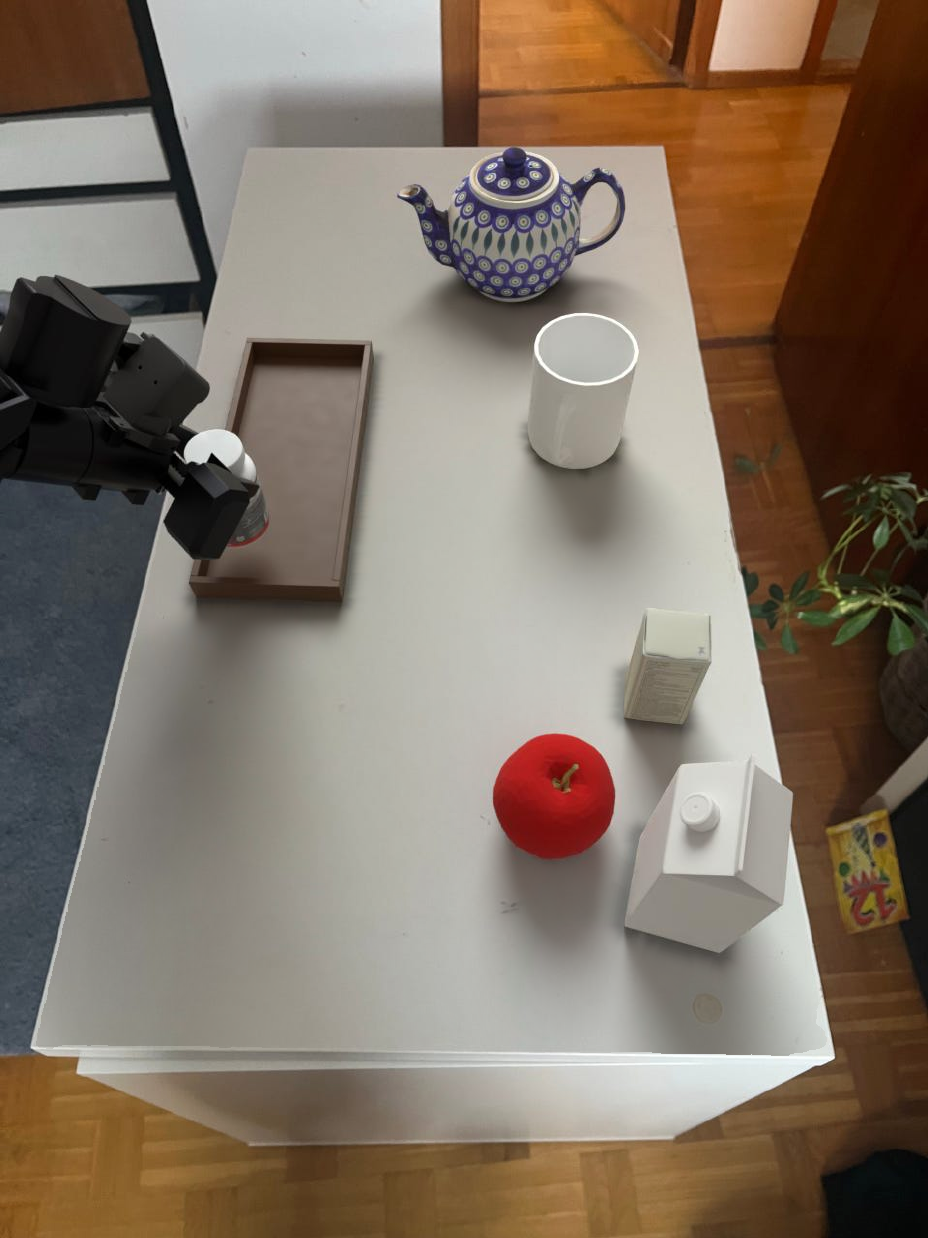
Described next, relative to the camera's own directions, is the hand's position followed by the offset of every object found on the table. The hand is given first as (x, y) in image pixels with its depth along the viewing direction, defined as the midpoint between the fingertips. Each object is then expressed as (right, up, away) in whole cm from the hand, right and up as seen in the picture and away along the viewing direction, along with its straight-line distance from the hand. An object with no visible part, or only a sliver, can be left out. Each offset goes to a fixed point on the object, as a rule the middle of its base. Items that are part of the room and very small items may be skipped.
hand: (235, 469), depth 74 cm
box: (+35, -19, +1) cm, 40 cm away
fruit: (+26, -28, -4) cm, 38 cm away
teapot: (+24, +28, +29) cm, 47 cm away
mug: (+30, +5, +16) cm, 34 cm away
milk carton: (+35, -33, -7) cm, 49 cm away
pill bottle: (-1, -4, +5) cm, 7 cm away
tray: (+2, +3, +14) cm, 15 cm away
